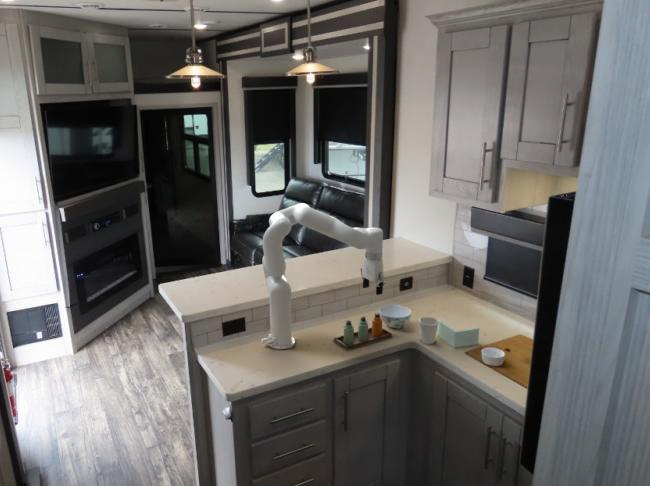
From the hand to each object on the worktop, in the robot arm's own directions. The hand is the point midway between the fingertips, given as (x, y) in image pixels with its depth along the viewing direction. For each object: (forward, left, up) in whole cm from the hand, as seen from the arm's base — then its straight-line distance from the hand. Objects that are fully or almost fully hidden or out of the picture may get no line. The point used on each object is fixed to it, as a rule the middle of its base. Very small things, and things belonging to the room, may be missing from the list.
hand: (372, 290), depth 233 cm
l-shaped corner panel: (+29, -24, -22) cm, 44 cm away
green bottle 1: (-15, -2, -21) cm, 26 cm away
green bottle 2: (-7, -2, -21) cm, 23 cm away
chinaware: (+15, +2, -22) cm, 27 cm away
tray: (-7, -2, -22) cm, 23 cm away
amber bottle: (+1, -2, -21) cm, 21 cm away
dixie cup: (+17, -18, -22) cm, 33 cm away
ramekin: (+26, -45, -22) cm, 57 cm away
